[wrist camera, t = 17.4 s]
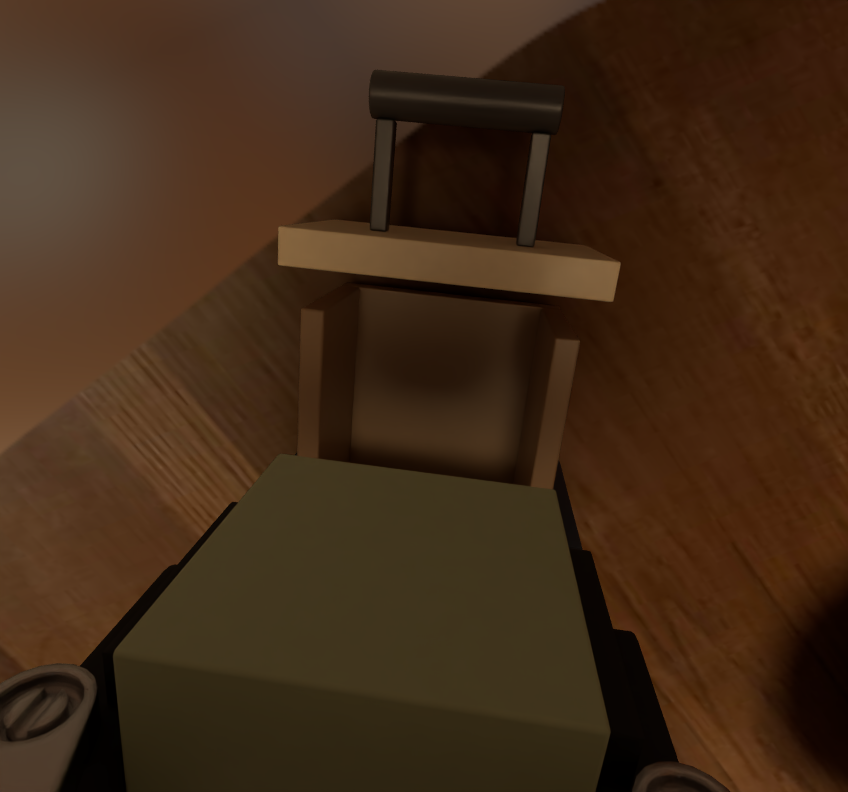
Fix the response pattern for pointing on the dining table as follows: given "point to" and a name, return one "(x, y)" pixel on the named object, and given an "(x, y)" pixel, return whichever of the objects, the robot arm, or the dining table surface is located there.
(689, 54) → the dining table surface
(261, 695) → the block
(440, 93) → the drawer
